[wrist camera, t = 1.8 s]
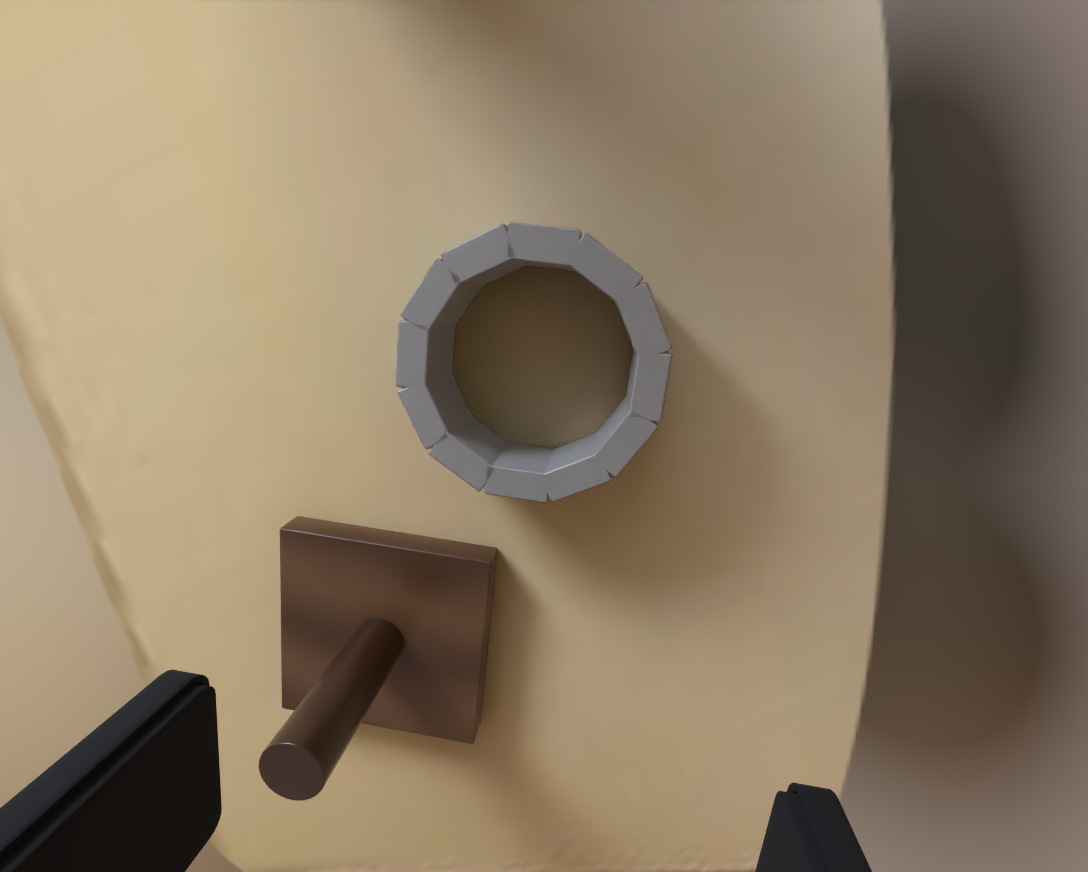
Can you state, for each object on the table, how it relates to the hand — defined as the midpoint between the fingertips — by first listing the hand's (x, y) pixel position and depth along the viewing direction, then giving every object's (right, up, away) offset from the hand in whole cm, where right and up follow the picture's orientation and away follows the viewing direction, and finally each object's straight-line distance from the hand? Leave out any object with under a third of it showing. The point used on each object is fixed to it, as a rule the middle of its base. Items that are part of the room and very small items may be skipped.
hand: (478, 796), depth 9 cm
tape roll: (+1, +9, +14) cm, 17 cm away
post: (-7, -4, +18) cm, 20 cm away
